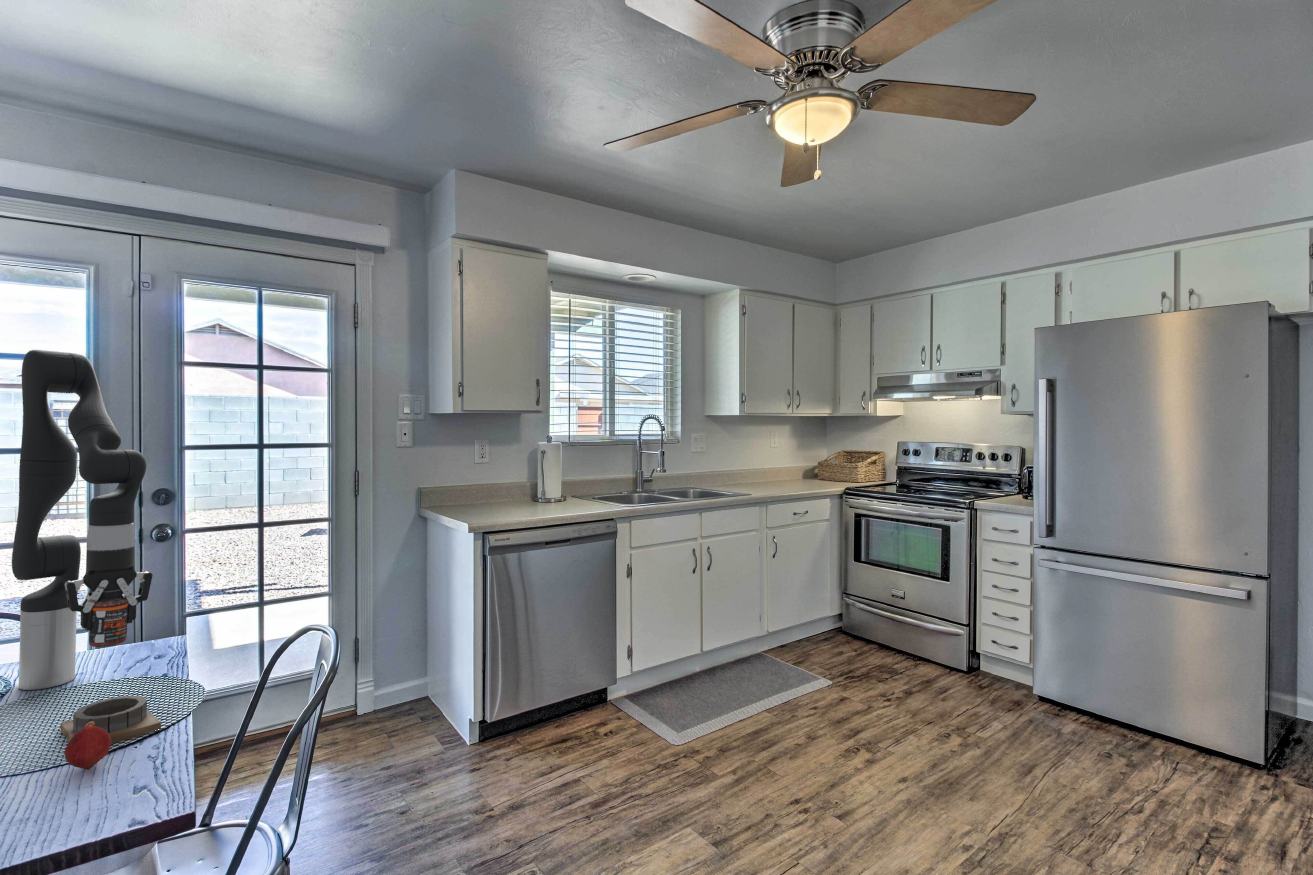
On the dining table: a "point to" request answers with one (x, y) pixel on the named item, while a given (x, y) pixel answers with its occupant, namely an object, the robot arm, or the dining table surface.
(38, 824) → the dining table surface
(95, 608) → the supplement bottle
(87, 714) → the ring holder
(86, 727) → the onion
